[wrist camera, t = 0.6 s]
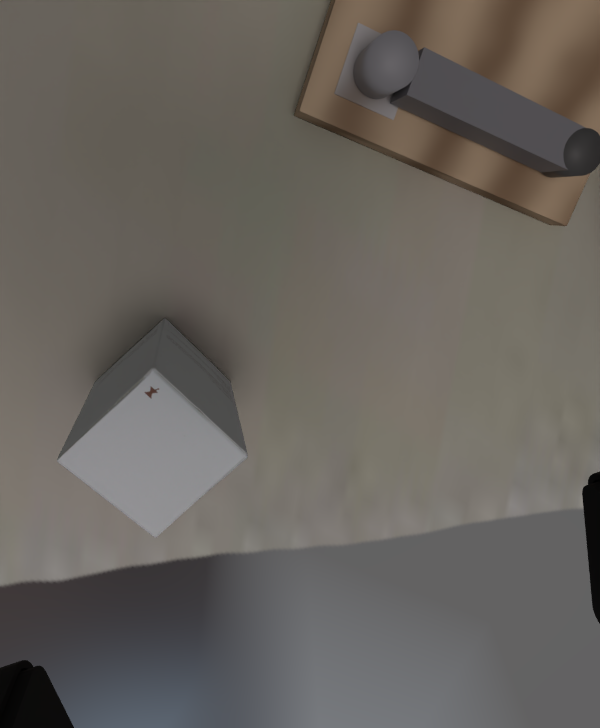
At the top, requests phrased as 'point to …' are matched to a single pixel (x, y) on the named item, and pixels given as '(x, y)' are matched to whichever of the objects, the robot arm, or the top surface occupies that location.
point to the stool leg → (475, 107)
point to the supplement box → (156, 430)
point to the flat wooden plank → (481, 55)
